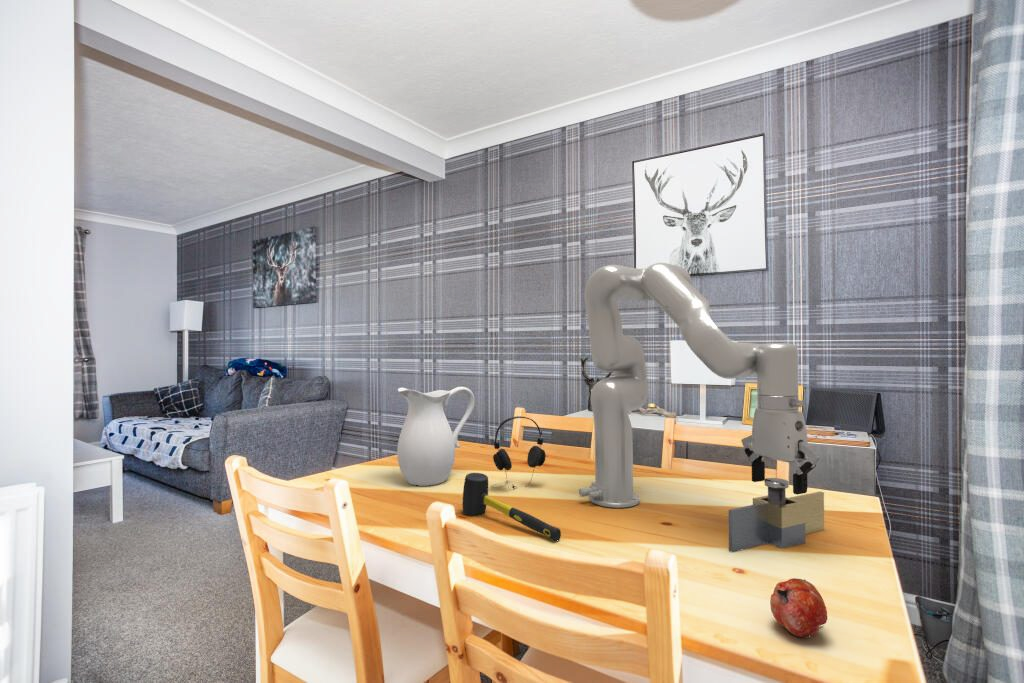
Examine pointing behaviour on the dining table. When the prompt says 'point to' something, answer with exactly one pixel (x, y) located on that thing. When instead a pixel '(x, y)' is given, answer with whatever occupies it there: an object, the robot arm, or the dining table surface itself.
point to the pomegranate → (798, 607)
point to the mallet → (499, 506)
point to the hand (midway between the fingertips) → (778, 486)
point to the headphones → (534, 455)
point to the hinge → (776, 521)
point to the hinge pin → (776, 490)
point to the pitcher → (429, 436)
